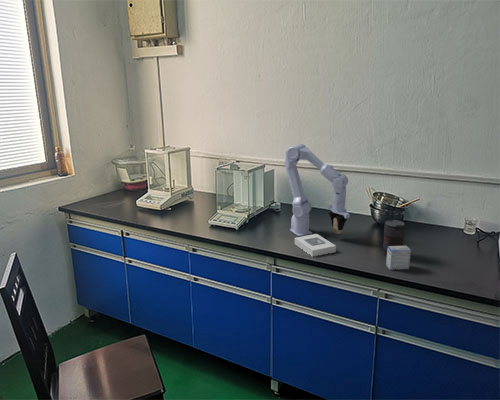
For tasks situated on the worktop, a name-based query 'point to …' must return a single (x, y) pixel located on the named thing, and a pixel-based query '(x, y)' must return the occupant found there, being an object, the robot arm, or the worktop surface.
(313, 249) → the socket board
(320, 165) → the robot arm
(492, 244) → the worktop surface
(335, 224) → the peg
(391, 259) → the medicine box
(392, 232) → the camera lens
